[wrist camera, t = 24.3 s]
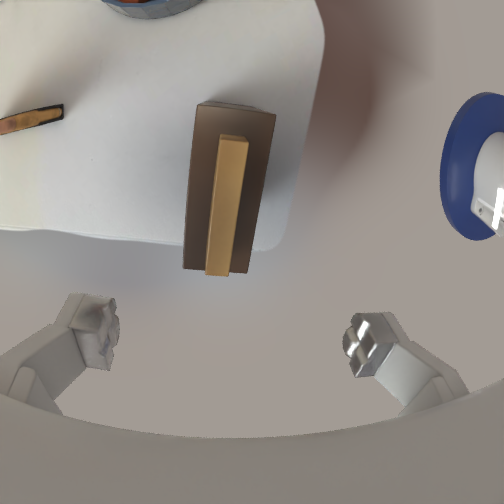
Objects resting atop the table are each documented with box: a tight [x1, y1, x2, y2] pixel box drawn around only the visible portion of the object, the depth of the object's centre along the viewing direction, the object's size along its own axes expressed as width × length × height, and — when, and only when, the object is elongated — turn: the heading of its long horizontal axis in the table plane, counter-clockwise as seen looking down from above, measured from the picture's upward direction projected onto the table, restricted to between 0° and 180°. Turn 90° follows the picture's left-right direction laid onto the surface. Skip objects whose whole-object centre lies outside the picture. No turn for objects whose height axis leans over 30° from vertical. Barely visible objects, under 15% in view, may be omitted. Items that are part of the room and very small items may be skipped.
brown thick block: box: [183, 101, 276, 273], centre depth 25 cm, size 5×12×13 cm, turn 171°
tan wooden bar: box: [205, 134, 249, 276], centre depth 18 cm, size 2×9×2 cm, turn 171°
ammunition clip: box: [0, 104, 63, 135], centre depth 19 cm, size 11×2×12 cm, turn 86°
